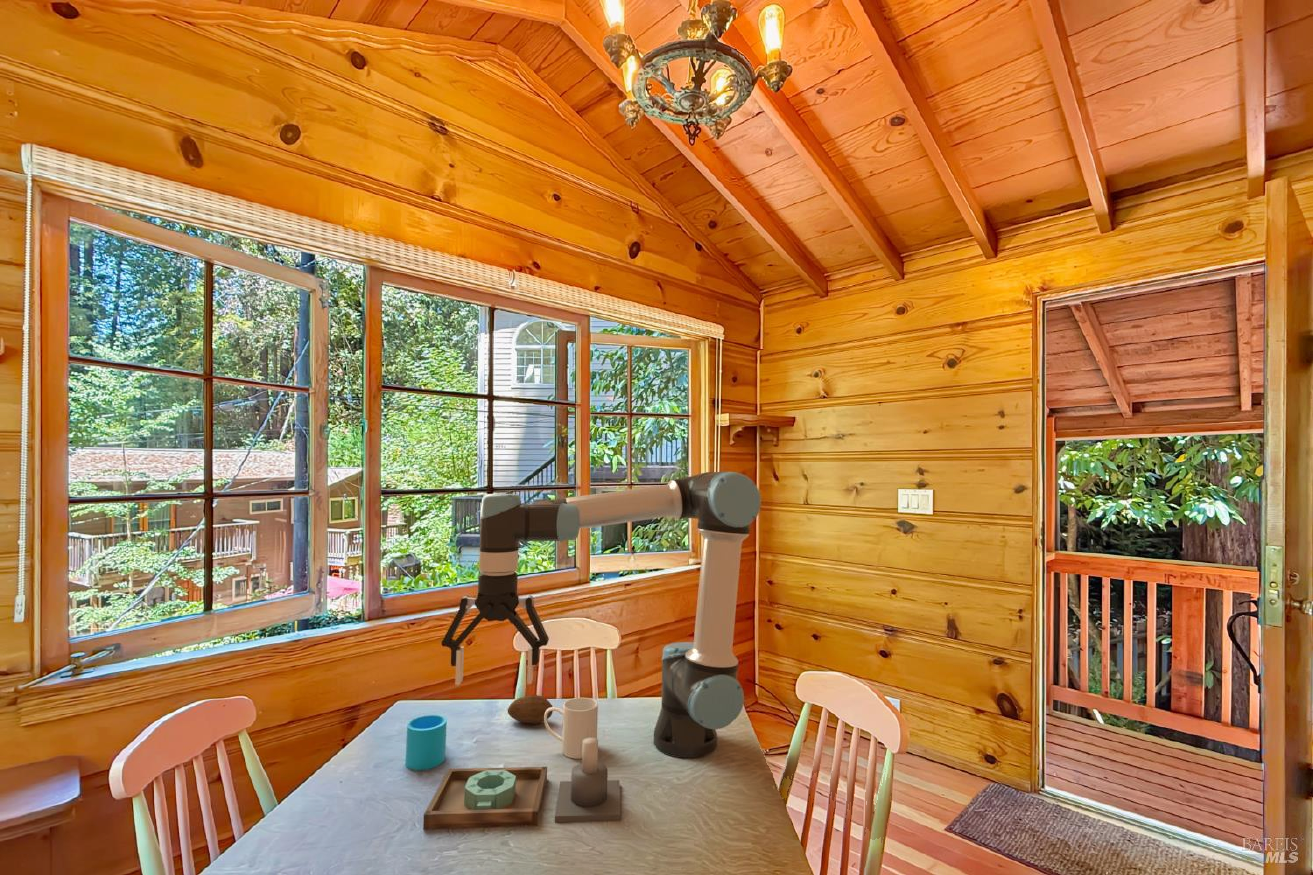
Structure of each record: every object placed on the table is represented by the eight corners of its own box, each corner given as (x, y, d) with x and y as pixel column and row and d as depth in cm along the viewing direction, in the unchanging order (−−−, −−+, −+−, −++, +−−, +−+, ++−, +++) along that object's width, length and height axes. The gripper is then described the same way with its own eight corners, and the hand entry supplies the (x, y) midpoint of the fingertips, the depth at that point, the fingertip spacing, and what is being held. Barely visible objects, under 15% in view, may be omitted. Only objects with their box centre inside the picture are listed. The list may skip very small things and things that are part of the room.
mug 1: (434, 771, 122) (436, 731, 123) (397, 768, 123) (399, 729, 124) (458, 745, 134) (460, 709, 135) (425, 742, 135) (426, 707, 135)
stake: (619, 784, 118) (620, 727, 119) (620, 819, 106) (621, 755, 107) (560, 786, 117) (561, 728, 118) (554, 821, 105) (556, 756, 106)
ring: (517, 784, 116) (518, 769, 116) (508, 816, 105) (509, 799, 106) (471, 785, 115) (472, 770, 115) (457, 817, 105) (458, 800, 105)
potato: (510, 716, 150) (511, 689, 151) (555, 717, 150) (555, 689, 151) (504, 728, 143) (505, 699, 144) (551, 728, 144) (552, 700, 144)
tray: (546, 779, 120) (547, 766, 120) (537, 825, 104) (537, 811, 104) (448, 781, 118) (448, 768, 118) (423, 829, 102) (423, 814, 102)
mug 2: (596, 742, 137) (597, 696, 137) (597, 758, 129) (598, 710, 130) (544, 744, 135) (545, 698, 136) (541, 760, 127) (543, 712, 128)
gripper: (563, 569, 119) (560, 674, 117) (439, 568, 117) (434, 676, 115) (560, 575, 111) (557, 688, 110) (427, 575, 109) (422, 690, 108)
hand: (494, 682), depth 113 cm, fingers open, 13 cm apart
